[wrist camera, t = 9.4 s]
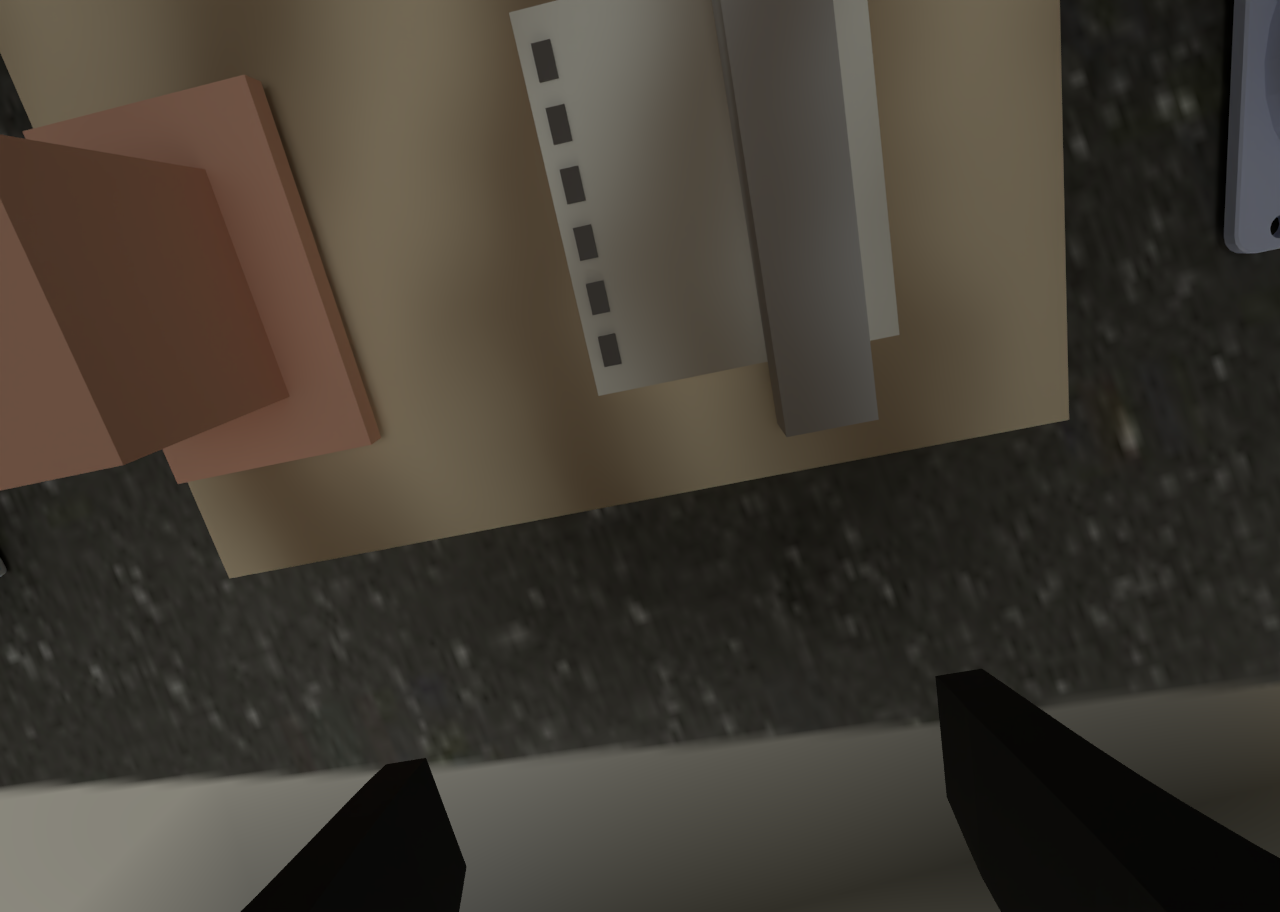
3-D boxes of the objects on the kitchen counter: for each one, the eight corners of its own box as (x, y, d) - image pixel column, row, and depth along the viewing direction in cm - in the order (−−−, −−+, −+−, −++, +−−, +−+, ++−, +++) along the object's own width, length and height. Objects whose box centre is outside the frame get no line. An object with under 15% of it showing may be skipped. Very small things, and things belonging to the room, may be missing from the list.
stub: (261, 81, 14) (14, -22, 9) (381, 437, 16) (245, 532, 11) (47, 136, 15) (-315, 70, 9) (194, 475, 17) (-26, 585, 11)
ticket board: (1024, -271, 13) (1118, -403, 10) (1046, 410, 17) (1118, 440, 14) (16, 6, 15) (-123, -47, 12) (251, 561, 19) (184, 613, 16)
